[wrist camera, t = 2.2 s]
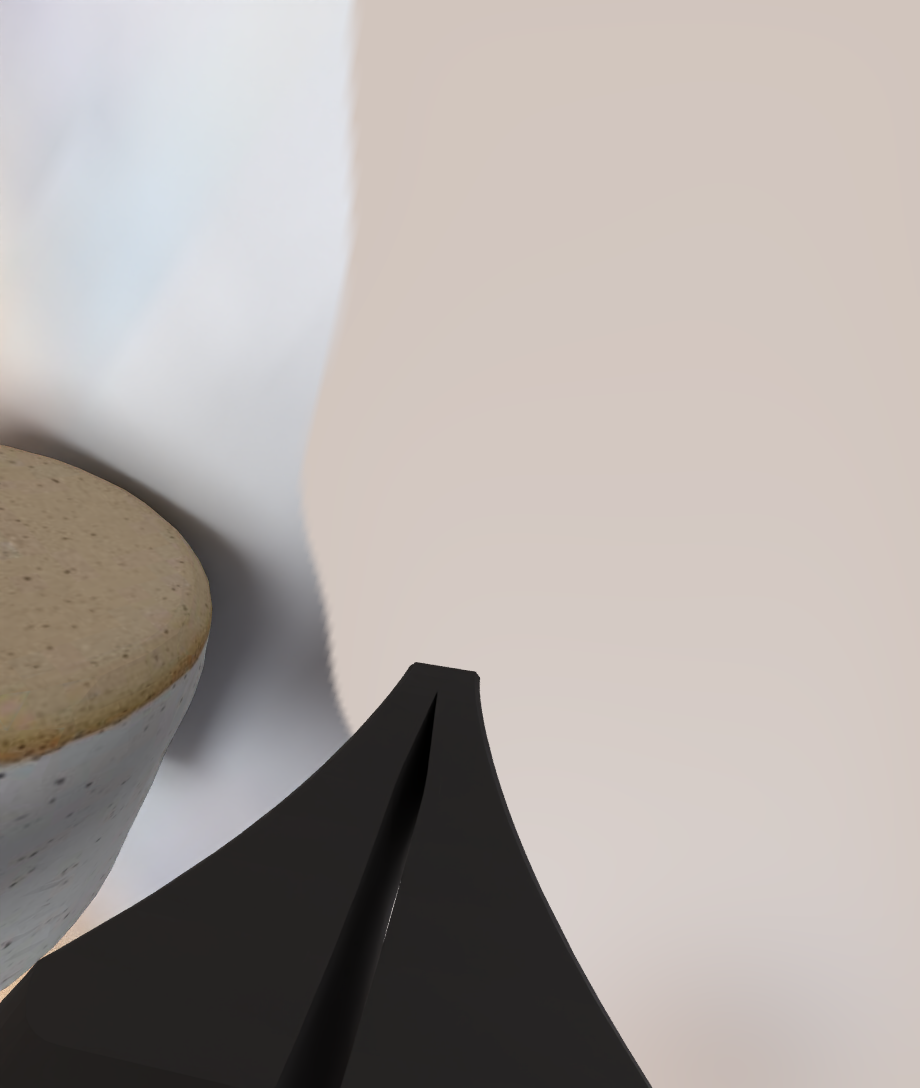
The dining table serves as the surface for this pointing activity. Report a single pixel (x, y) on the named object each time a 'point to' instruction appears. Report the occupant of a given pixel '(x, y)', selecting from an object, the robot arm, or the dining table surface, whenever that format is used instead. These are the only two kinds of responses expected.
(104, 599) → the ceramic mug
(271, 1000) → the robot arm
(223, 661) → the dining table surface
